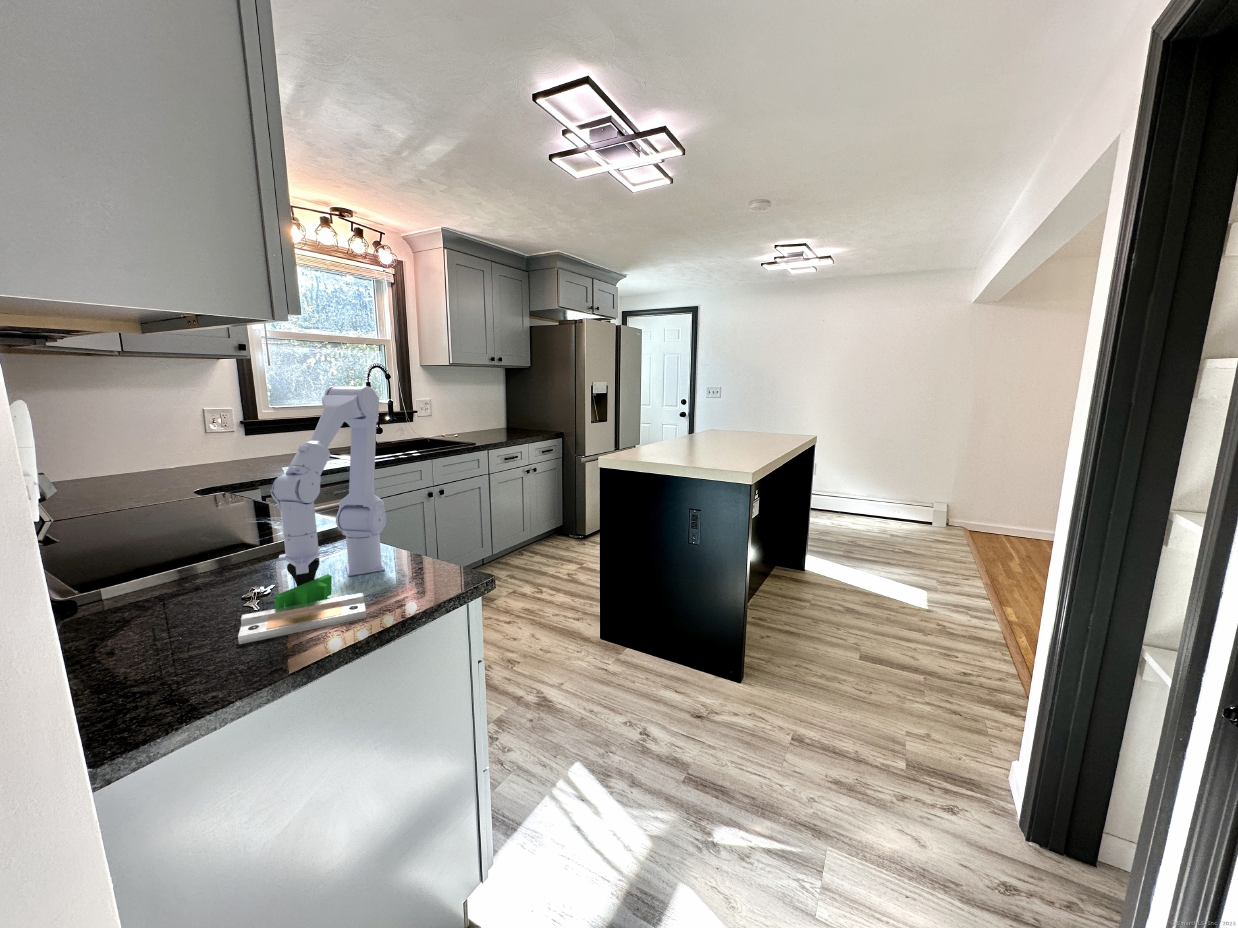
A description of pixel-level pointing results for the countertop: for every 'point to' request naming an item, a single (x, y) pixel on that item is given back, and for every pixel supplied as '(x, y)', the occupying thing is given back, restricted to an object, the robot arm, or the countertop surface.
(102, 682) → the countertop surface
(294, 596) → the green angular block
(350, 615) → the rail
